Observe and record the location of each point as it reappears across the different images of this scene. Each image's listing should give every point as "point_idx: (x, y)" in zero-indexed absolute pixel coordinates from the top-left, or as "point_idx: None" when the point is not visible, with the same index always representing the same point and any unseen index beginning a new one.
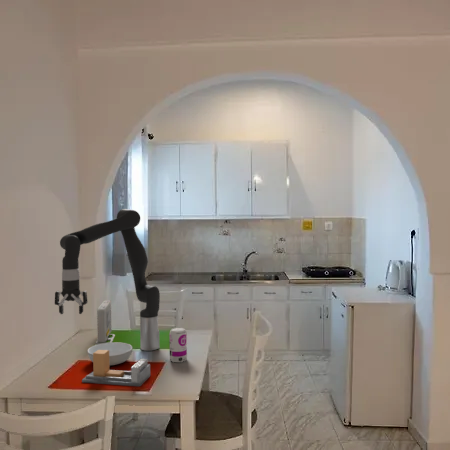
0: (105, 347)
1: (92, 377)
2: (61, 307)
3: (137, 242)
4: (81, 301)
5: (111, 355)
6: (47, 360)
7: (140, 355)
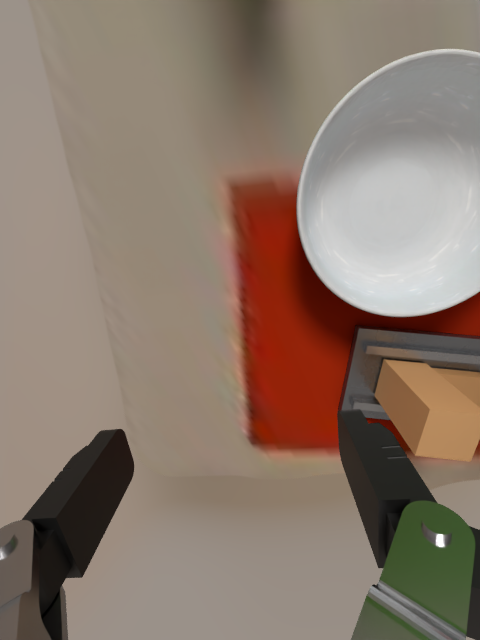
0: (359, 103)
1: (375, 409)
2: (89, 557)
3: None
4: (456, 609)
5: (385, 137)
6: (99, 207)
7: None
